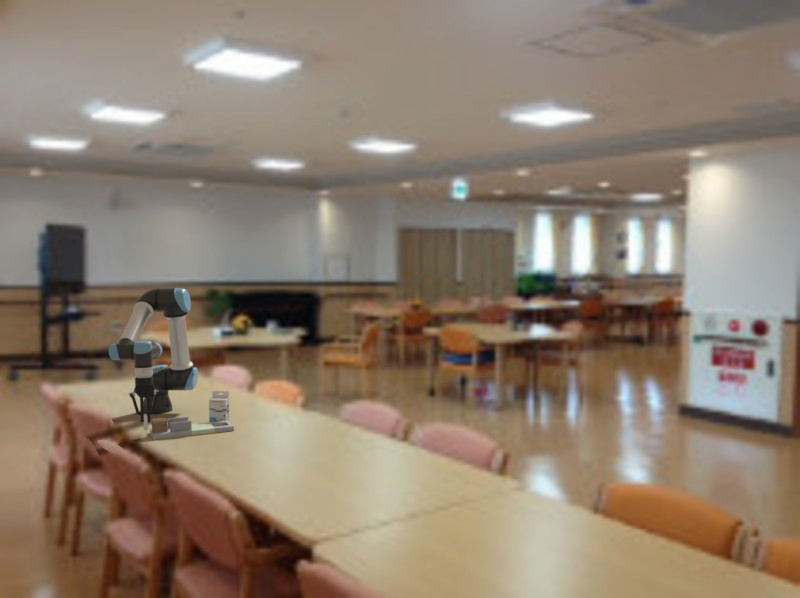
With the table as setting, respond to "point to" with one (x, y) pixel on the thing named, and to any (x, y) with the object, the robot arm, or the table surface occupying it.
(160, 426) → the block
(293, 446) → the table surface
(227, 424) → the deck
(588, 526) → the table surface
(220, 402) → the ink box
